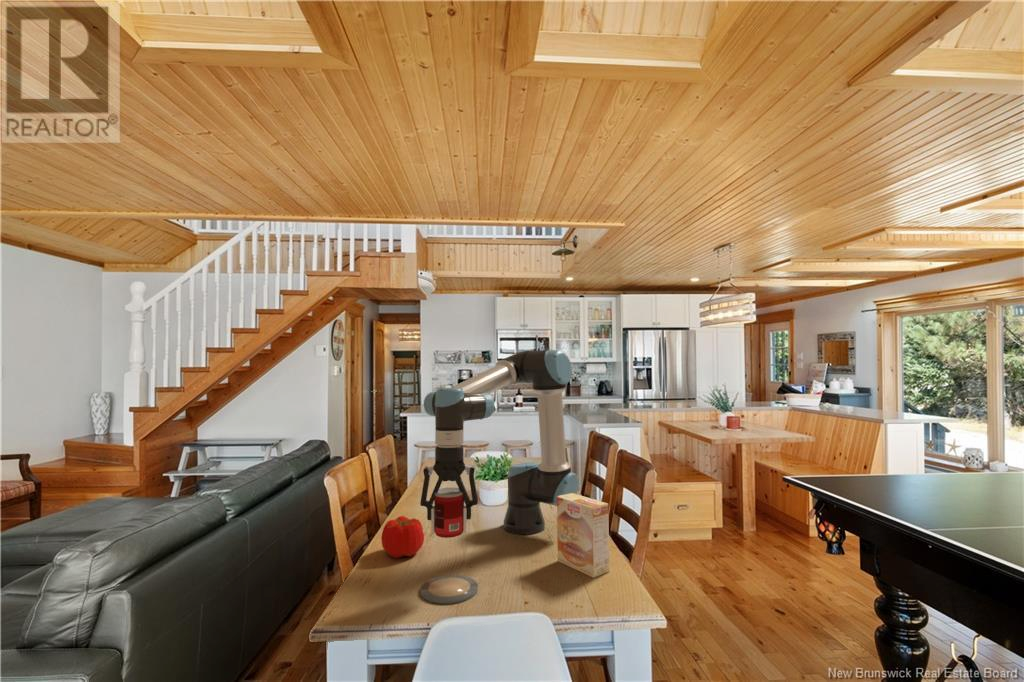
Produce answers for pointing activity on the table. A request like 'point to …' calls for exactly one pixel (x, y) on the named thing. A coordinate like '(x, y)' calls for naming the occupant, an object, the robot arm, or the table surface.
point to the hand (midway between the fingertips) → (449, 531)
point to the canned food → (449, 512)
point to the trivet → (449, 589)
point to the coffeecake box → (583, 534)
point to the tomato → (402, 537)
